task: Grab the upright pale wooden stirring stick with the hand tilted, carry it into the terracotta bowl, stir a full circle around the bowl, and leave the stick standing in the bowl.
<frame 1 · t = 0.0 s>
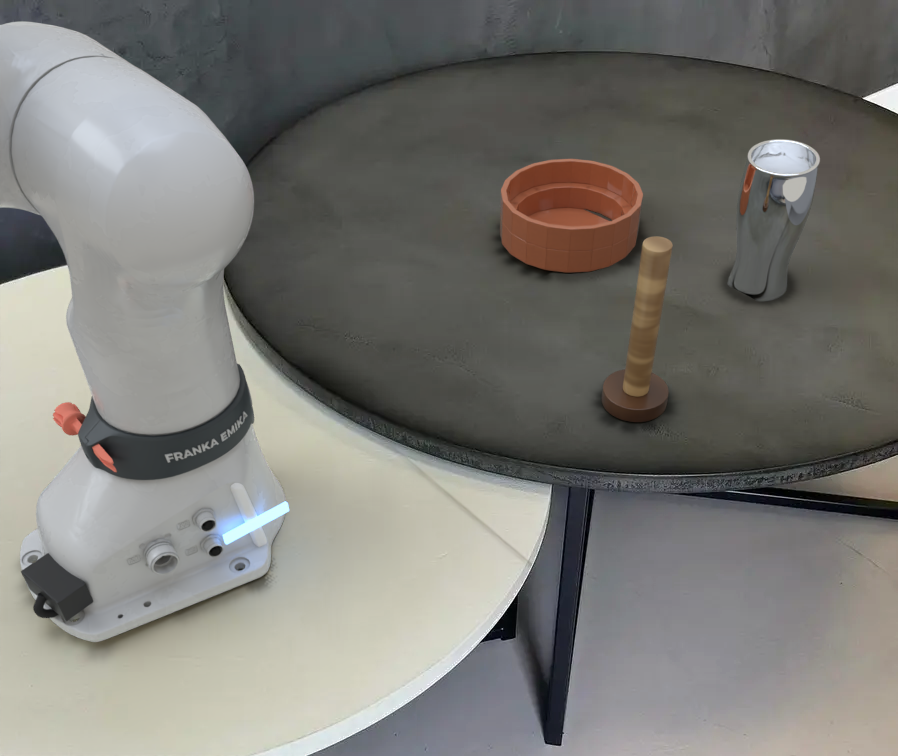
beer glass: (755, 290, 104), on the table
bowl: (567, 241, 111), on the table
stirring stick: (633, 401, 92), on the table
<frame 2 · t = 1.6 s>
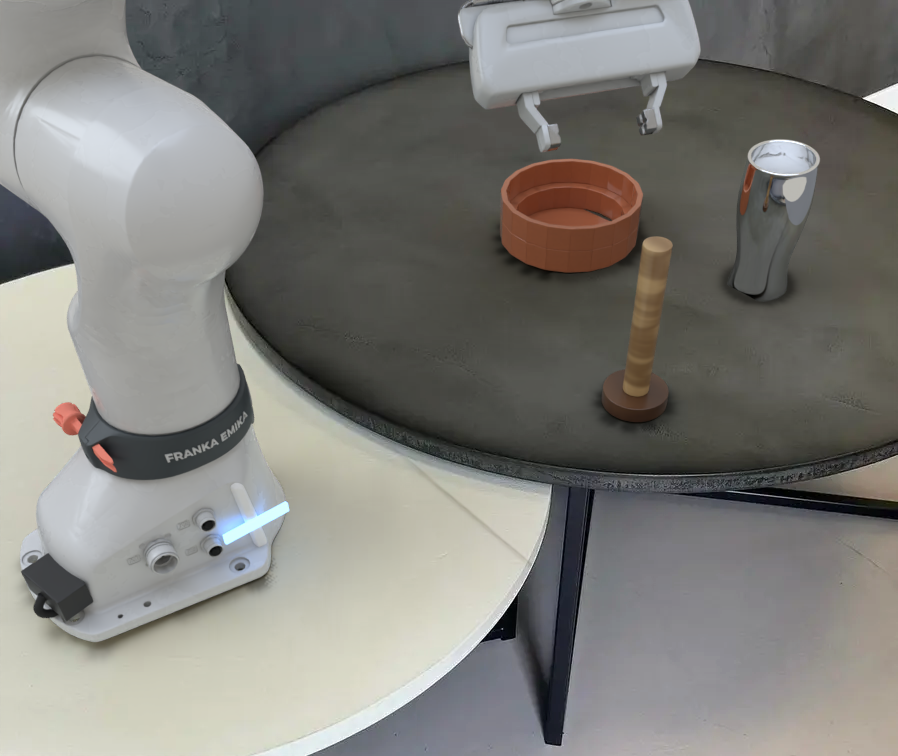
hand: (601, 140, 86), 20 cm above the table, tool tilted 45°, fingers open, 8 cm apart
nothing on the table moved.
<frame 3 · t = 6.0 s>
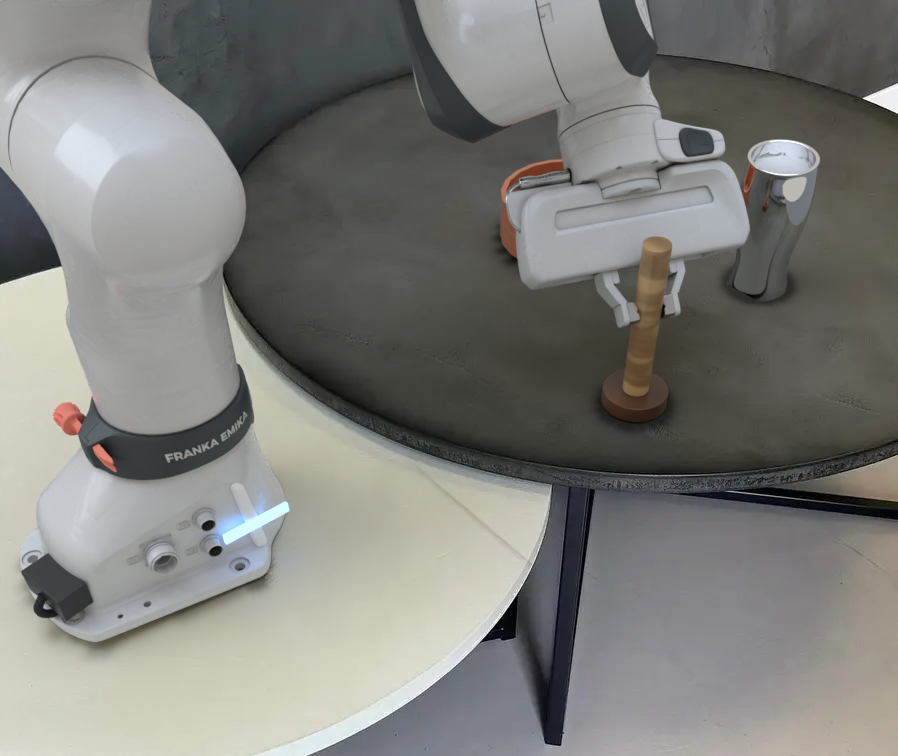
hand: (649, 321, 84), 9 cm above the table, tool tilted 45°, fingers closed on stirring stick, 2 cm apart
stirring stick: (633, 401, 92), on the table, touching gripper
everything else where it was.
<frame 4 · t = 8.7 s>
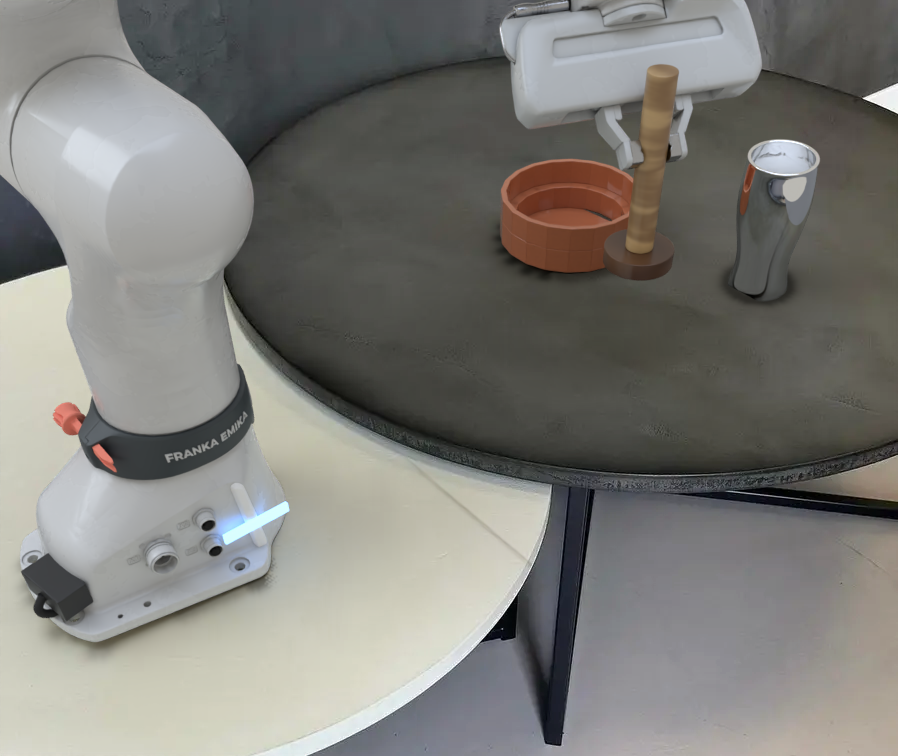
hand: (654, 163, 79), 21 cm above the table, tool tilted 45°, fingers closed on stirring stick, 2 cm apart
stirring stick: (637, 261, 86), point 12 cm above the table, touching gripper
everything else where it was.
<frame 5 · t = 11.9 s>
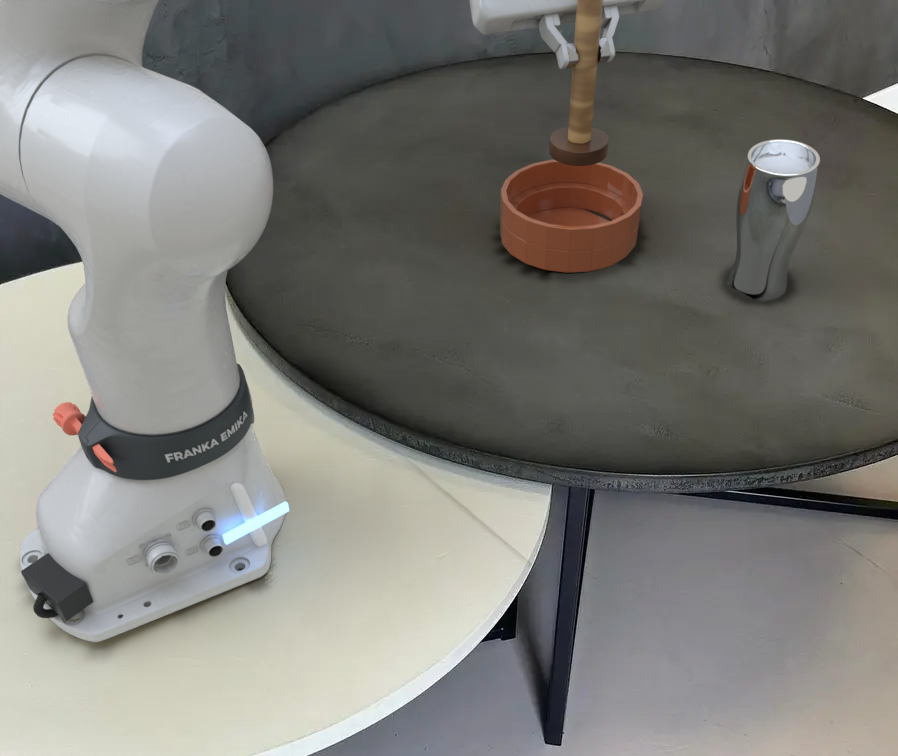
hand: (588, 63, 95), 20 cm above the table, tool tilted 45°, fingers closed on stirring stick, 2 cm apart
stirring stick: (578, 152, 103), point 11 cm above the table, touching gripper
everything else where it was.
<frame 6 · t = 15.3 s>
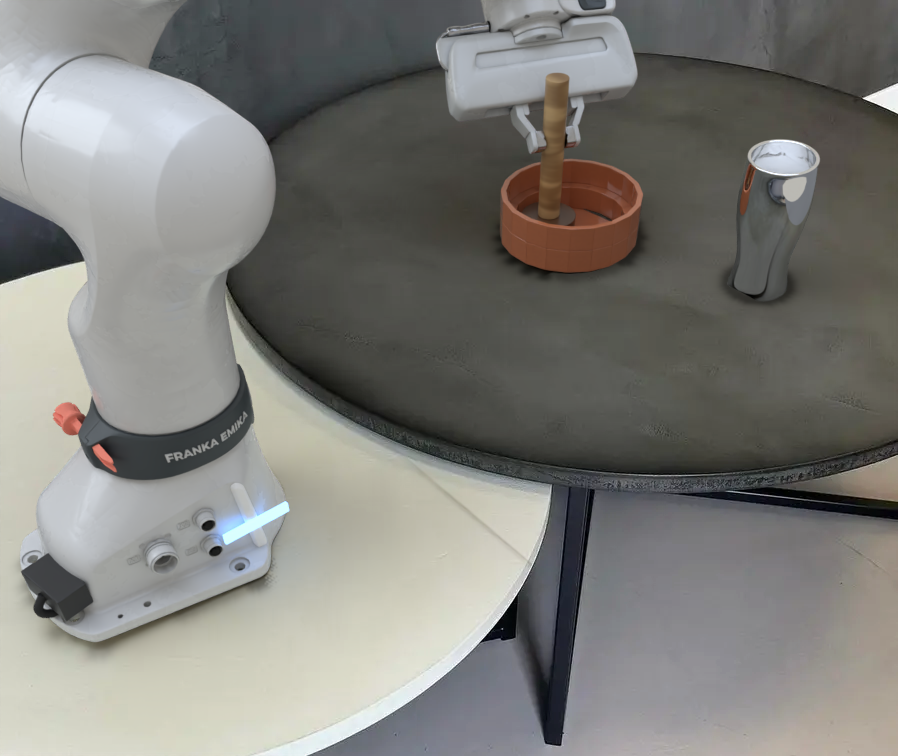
hand: (555, 148, 103), 11 cm above the table, tool tilted 45°, fingers closed on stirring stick, 2 cm apart
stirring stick: (547, 226, 110), point 2 cm above the table, touching gripper
everything else where it was.
when the fingers open (10 cm above the table, at t = 17.9 s): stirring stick stays where it is, resting on bowl.
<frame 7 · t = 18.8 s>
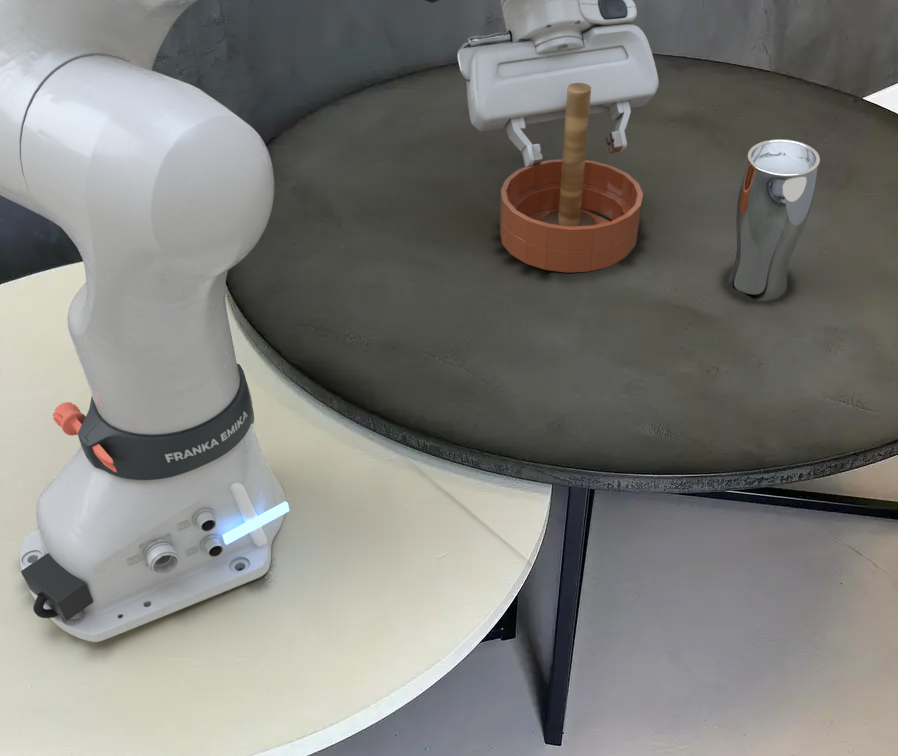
hand: (576, 157, 103), 10 cm above the table, tool tilted 45°, fingers open, 8 cm apart
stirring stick: (567, 234, 111), point 1 cm above the table, touching bowl
everything else where it was.
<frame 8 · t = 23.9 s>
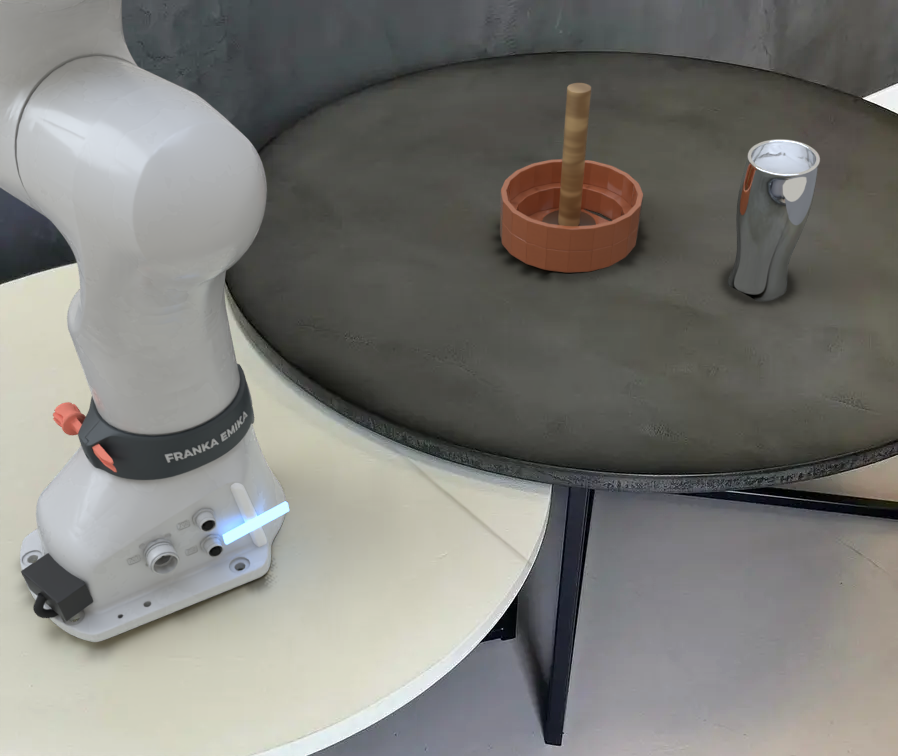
nothing on the table moved.
at the end: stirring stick inside the target area in the bowl (0.0 cm from its centre), point 0.8 cm above the bowl's base; the gripper is holding nothing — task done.
